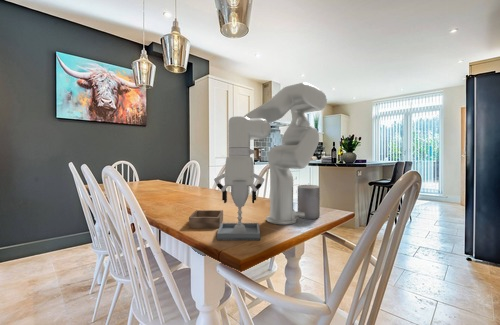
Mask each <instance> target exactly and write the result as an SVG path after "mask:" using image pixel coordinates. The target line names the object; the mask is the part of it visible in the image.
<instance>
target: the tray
mask: <svg viewBox="0 0 500 325" xmlns="http://www.w3.org/2000/svg"><path fill="white" fill-rule="evenodd" d="M241 223H242V224H243V225H244V226H245V228H246V231H247V233H233V230H234V227H235V225H237V224H238V222H222V223H221V225H220V227H219V228H218V230H217V233H216V241H261V229H260V223H259V222H241Z"/></svg>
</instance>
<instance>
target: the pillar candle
mask: <svg viewBox="0 0 500 325" xmlns="http://www.w3.org/2000/svg"><path fill="white" fill-rule="evenodd" d="M320 190H321V189H320V186H319V185H315V184H314V185H313V184H310V183H308V184H299V185H297V211H300V212H304V213H305V217H299V218H301V219H304V218H305V220H315V219H316V218H317V219H319V218H320V216H321V214H320V212H321V211H320V209H321V208H320V206H321V205H320V200H321V199H320V197H321V196H320V192H321V191H320ZM317 219H316V220H317Z"/></svg>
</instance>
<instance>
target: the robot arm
mask: <svg viewBox="0 0 500 325" xmlns="http://www.w3.org/2000/svg"><path fill="white" fill-rule="evenodd" d="M327 100H328V99H327V96H326V94H325V93H324V92H323V90H321V89H319V88H318V87H316V86H315V85H312V84H310V83H308V82H299V83H296V84H295V83H294V84H292V85H288V86H287V85H286V86H285V87H283V88H281V89H280V90H279V91H278V92H277V93H276V94H275V95H274V96H272V98H270V99H269V100H268V101H266V102H264V103H262V104H261V105H259V106H257V107H256V108H254V109H252V110H251V111H248V112H247V113H246V114H245V115H244V116H232V117H230V118H229V119H228V134H227V136H228V137H227V138H228V139H227V140H228V142H227V143H228V153H227V154H228V156H226V158H225V159H226V160H225V164H224V173H222V174H220V175H219V176H217V177H215V178H213V180H214V182H215V184H216V186H217V187H218V189H219V190H220V191H221V194H222V196H221V197H222V199H221V200H222V201H223V204H226V203H227V202H228V190H227V189H228V187H231V186H233V185H234V184H233V182H232V181H248V182H247V183H246V186H249V188H251V189H252V191H251V203H252V204H255V201H257V192H258V190H259V189H260V188H261V187H262V186H263V184H264V182H265V178H264V177H262V176H260V175H258V174H256V173H255V170H254V166H255V165H254V159H253V157H252V156H251V155H254V154H255V149H251V140H264V139H266V138H267V137H269V136H270V134H271V131H272V127H271V124H270V123H275V122H276V121H278V120H280V119H282V118H283V117H285V115H286V114H287V113H288V112H290V113H291V121H290V124H289V125H288V127H287V129H286V130H285V131H284V133H283V135H282V137H281V144H280V145H279V144H278V145H275V146H273V147H271V148H270V150H268V154H267V161H268V166H269V174H270V179H269V180H270V182H269V183H270V185H269V188H270V190H269V192H270V193H269V194H270V195H269V196H270V197H269V200H270V203H269V208H270V210H269V212H270V213H269V215H267V216H266V221H267V222H268V223H269V224H274V225H292V224H296V223H297V221H298V218H300V217H305V213H304V212H300V211H298V210H296V211H295V210H294V177H293V173H292V172H291V170H292V169H294V170H302V169H305V168H307V166H308V165H309V163H310V162H311V160H312V158H313V156H314V154H315V152H316V151H317V148H318V145H319V142H320V133H319V130H318V129H317V128H316V127H315V126H311V123H310V120H309V118H307V116H306V115H305V114H307V113H313V112H318V111H322V110H324V109H325V108H326V107H327V102H328V101H327ZM290 169H291V170H290ZM222 179H224V185H223V184H222V183H221V182H220V180H222ZM255 179H256V180H258V181H259V182H258V183H257V184H256V185H255V184H254V183H255Z"/></svg>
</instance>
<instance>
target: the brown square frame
mask: <svg viewBox="0 0 500 325" xmlns="http://www.w3.org/2000/svg"><path fill="white" fill-rule="evenodd" d="M223 221H224V210H223V209H222V210H221V209H220V210H213V209H212V210H206V209H202V210H201V209H200V210H197V209H196V210H195V211H193V213H192V214H191V215H190V216H189V217H188V229H219V227H220V225H221V223H223Z"/></svg>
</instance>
